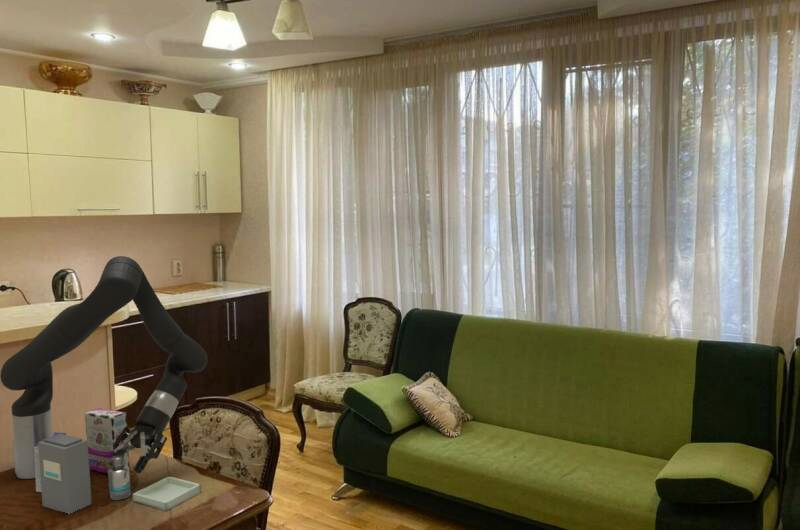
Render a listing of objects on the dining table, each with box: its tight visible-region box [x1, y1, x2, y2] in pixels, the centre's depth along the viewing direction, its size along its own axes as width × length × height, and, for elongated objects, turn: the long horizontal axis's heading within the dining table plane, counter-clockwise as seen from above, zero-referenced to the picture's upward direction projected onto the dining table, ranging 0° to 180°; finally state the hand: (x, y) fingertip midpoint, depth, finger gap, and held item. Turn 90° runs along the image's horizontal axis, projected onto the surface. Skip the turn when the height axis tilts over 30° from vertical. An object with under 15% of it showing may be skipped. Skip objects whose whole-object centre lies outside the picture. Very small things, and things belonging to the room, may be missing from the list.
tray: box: [132, 476, 202, 512], centre depth 162 cm, size 11×11×2 cm
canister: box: [107, 455, 132, 501], centre depth 162 cm, size 5×5×10 cm
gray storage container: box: [38, 434, 92, 515], centre depth 158 cm, size 10×6×17 cm, turn 62°
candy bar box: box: [84, 408, 130, 475], centre depth 179 cm, size 11×5×16 cm, turn 64°
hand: (124, 469), depth 163 cm, fingers open, 8 cm apart
